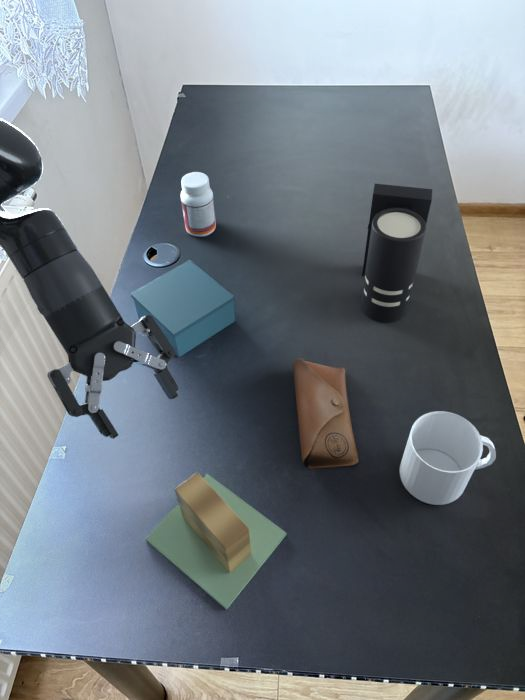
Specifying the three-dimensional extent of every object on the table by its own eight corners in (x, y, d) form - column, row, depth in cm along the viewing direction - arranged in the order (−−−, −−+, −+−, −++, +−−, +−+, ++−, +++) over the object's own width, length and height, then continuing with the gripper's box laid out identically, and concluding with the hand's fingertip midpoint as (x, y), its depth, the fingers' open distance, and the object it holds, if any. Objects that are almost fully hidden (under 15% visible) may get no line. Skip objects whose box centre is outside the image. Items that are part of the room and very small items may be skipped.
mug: (399, 502, 80) (411, 468, 73) (398, 444, 86) (408, 408, 79) (491, 511, 79) (512, 478, 72) (483, 452, 85) (502, 416, 78)
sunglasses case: (363, 464, 84) (342, 444, 79) (319, 479, 86) (296, 460, 82) (344, 364, 95) (325, 342, 91) (306, 380, 98) (285, 359, 94)
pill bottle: (187, 218, 121) (180, 169, 113) (217, 218, 121) (212, 169, 112) (183, 237, 117) (175, 189, 109) (214, 238, 117) (209, 189, 108)
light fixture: (353, 318, 102) (364, 236, 89) (362, 265, 111) (372, 183, 97) (411, 326, 101) (431, 244, 87) (415, 271, 109) (434, 189, 96)
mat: (226, 610, 72) (226, 608, 72) (145, 540, 78) (145, 538, 78) (286, 534, 78) (286, 532, 78) (207, 475, 84) (207, 473, 83)
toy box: (237, 321, 103) (234, 296, 98) (178, 359, 98) (173, 334, 93) (193, 284, 109) (189, 259, 104) (136, 318, 104) (130, 293, 99)
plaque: (251, 554, 76) (249, 528, 70) (230, 573, 74) (225, 548, 68) (203, 500, 81) (197, 471, 75) (182, 516, 79) (174, 489, 73)
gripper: (18, 326, 63) (100, 454, 66) (132, 265, 69) (203, 384, 72) (12, 333, 69) (87, 448, 72) (117, 276, 75) (182, 385, 78)
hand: (145, 416), depth 72 cm, fingers open, 8 cm apart
